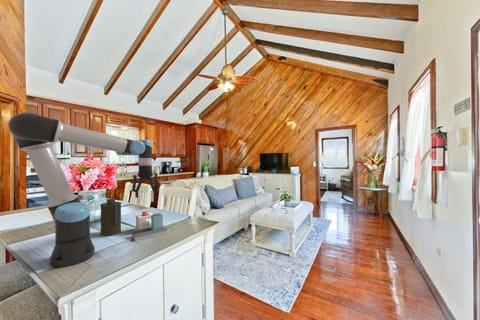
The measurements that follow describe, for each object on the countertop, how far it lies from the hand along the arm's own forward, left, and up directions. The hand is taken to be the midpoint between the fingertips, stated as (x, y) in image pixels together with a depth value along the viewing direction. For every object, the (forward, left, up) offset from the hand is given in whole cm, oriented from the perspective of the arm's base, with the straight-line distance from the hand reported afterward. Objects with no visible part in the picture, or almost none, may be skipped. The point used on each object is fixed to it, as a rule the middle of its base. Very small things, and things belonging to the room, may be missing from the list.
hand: (145, 202), depth 122 cm
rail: (-1, -11, -17) cm, 20 cm away
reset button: (0, 0, -10) cm, 10 cm away
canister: (-17, +7, -17) cm, 25 cm away
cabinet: (0, 0, -17) cm, 17 cm away
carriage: (+3, -11, -15) cm, 19 cm away
